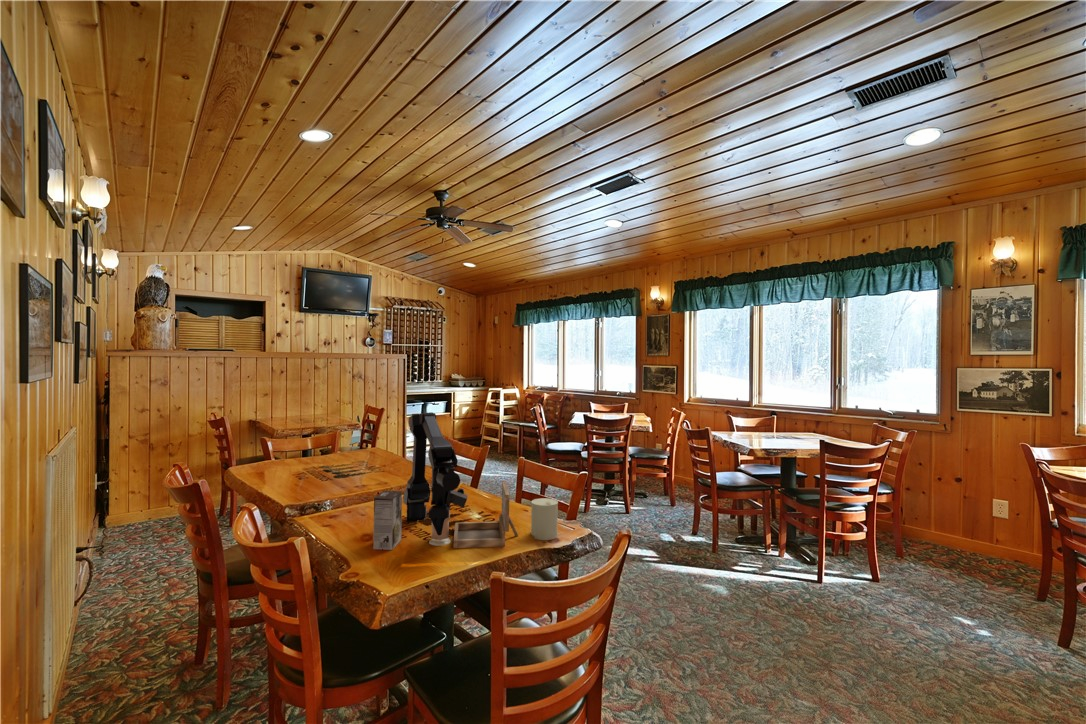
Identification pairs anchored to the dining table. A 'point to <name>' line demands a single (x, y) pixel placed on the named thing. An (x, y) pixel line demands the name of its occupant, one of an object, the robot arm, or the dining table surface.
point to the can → (544, 518)
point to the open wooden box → (485, 528)
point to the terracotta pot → (444, 531)
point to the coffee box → (387, 520)
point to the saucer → (439, 542)
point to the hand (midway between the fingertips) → (440, 532)
